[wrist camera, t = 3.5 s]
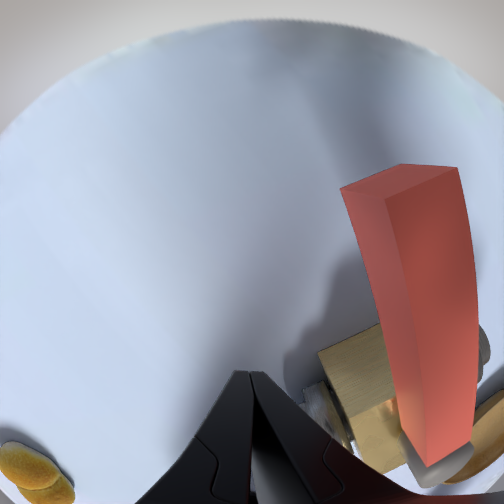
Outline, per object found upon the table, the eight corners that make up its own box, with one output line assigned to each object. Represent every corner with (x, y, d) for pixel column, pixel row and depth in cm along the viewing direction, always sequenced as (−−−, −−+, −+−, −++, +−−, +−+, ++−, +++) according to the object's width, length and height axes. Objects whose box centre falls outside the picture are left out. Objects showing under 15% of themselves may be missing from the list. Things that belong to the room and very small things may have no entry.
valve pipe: (305, 435, 21) (325, 504, 14) (271, 371, 19) (290, 450, 13) (456, 358, 20) (503, 405, 14) (449, 284, 18) (514, 325, 12)
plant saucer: (406, 481, 25) (415, 497, 23) (475, 376, 22) (491, 392, 19) (486, 456, 27) (495, 468, 25) (543, 365, 24) (555, 376, 21)
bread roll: (40, 439, 20) (24, 470, 16) (89, 495, 22) (80, 524, 18) (-12, 433, 20) (-28, 457, 16) (34, 487, 22) (24, 511, 18)
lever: (446, 431, 14) (471, 464, 11) (399, 458, 14) (419, 495, 11) (409, 160, 10) (467, 163, 7) (328, 193, 10) (369, 205, 7)
